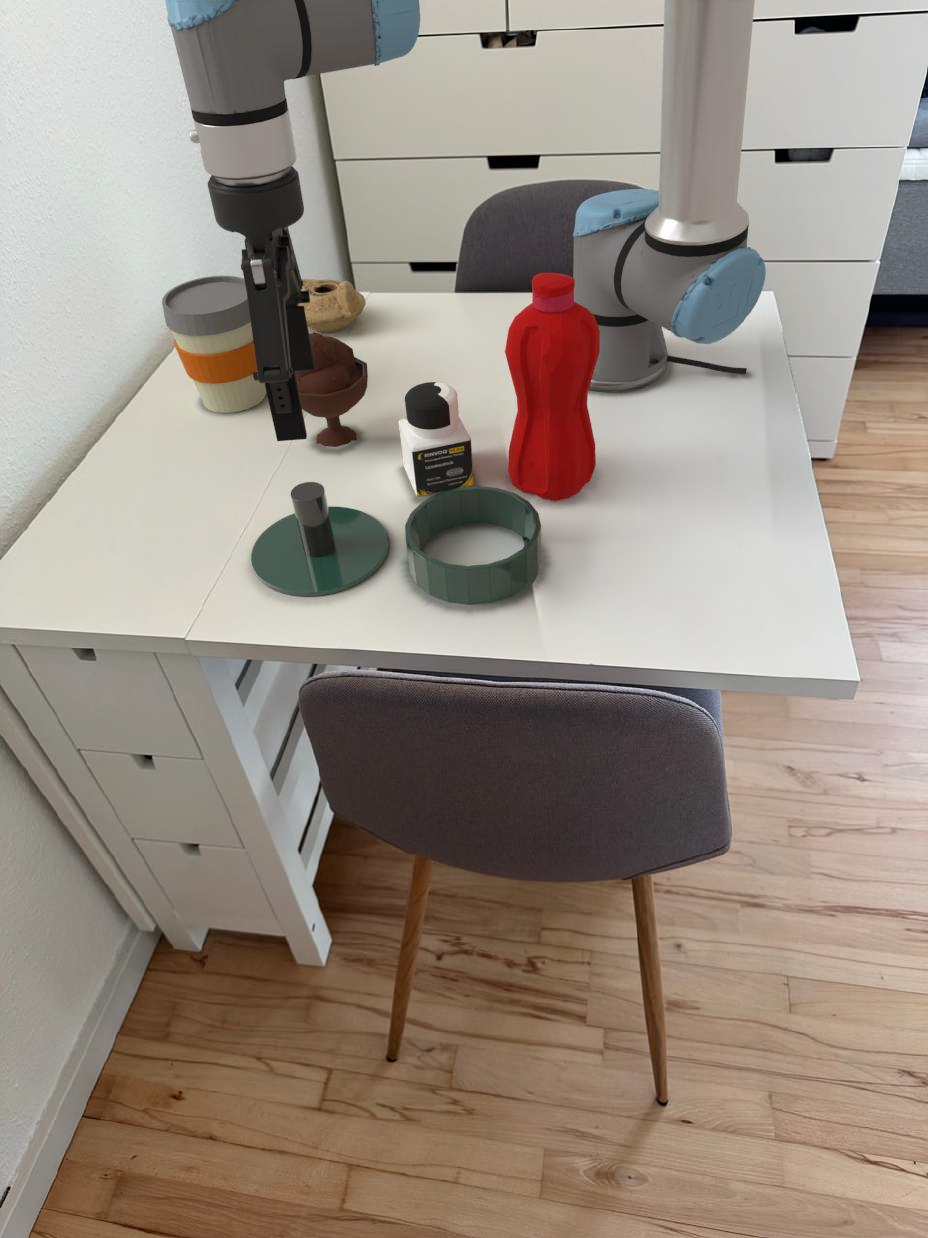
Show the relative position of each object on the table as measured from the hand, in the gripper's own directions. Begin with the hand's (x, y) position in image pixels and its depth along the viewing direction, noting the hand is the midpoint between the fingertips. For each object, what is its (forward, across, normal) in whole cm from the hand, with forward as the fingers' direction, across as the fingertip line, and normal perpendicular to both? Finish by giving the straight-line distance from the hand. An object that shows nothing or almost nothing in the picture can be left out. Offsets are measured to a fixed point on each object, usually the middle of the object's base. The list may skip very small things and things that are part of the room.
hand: (297, 401), depth 89 cm
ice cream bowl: (+19, -23, 0) cm, 30 cm away
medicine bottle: (+19, -12, +13) cm, 26 cm away
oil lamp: (+19, -58, -3) cm, 61 cm away
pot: (+19, +5, +16) cm, 25 cm away
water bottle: (+19, -10, +27) cm, 35 cm away
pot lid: (+18, +1, -1) cm, 18 cm away
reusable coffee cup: (+19, -37, -15) cm, 44 cm away
